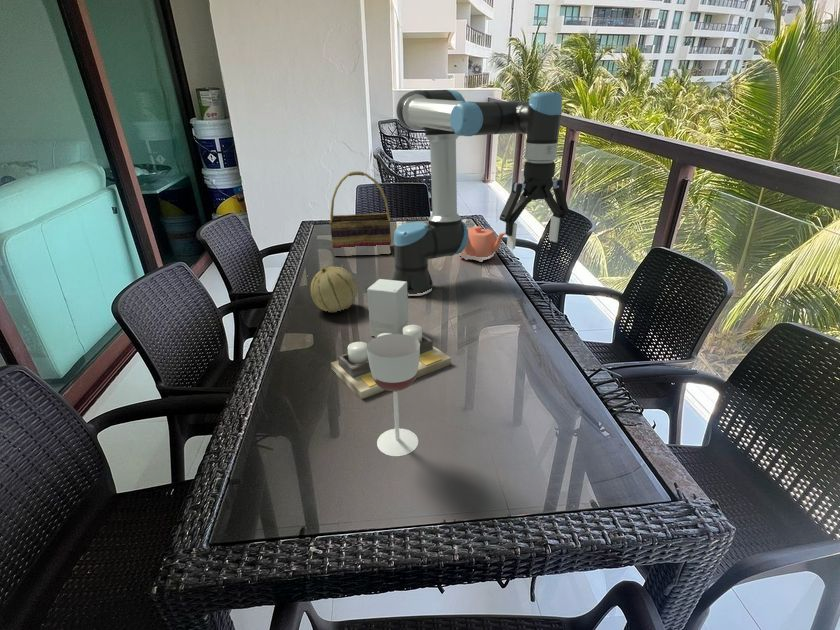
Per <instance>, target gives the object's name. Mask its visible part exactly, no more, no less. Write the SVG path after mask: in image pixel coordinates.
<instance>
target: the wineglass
mask: <svg viewBox="0 0 840 630" xmlns="http://www.w3.org/2000/svg"><path fill="white" fill-rule="evenodd" d="M367 354H368V360H369V366H370V370H371V373H372V376H373V379H374V381H375V383H376V384H377V385H378V386H379V387H381V388H382V389H385V390H384V391H389V392H393V414H394V418H393V419H394V428H391V429H388V430H385V431H384V432H382V433H381V434H380V435H379V437H378V438H377V441H376V445H377V448H378V450H379V451H380V452H381V453H383V454H385V455H387V456H390V457H401V456H406V455H408V454H410V453H413V451H414V450H416V448H417V447H418V445H419V438H418V436H417V434H415V433H414V432H413V431H411V430H409V429H406V428H400V422H399V421H400V417H399V416H400V415H399V393H398V392H399V391H403V390H406V389H407V388H409V387H411V386H412V385H413V383H414V382H415V381H416V379H417V378H416V375H417V370H418V365H419V356H420V343H419V341H418V340H417V339H416V338H414V337H412V336H409V335H403V334H388V335H382V336H379V337H373V338H372V339H371V340H370V341H368V343H367Z"/></svg>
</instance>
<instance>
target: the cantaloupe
mask: <svg viewBox="0 0 840 630" xmlns="http://www.w3.org/2000/svg"><path fill="white" fill-rule="evenodd" d="M357 292H358V287H357V282H356V280H355V278H354V276H353V274H351V272H349V271H348V270H346V269H345V268H343V267H340V266H329V267H326V268H325V267H324V268H321V269H320V270H319V271H318V272H317V273H316V274H315V275H314V276H313V278H312V280H311V283H310V296H311V298H312V301H313V303H314V304H315V305H316V306H317V308H319V309H321V310H322V311H324V312H327V311H328V312H327V313H338V312H337V311H340V312H342V311H341V310H343V311H345V310H344V309H346V310H347V309H349V308H350V307H351V306H352V305H353V303H354V301H356V298H357Z"/></svg>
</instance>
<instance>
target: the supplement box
mask: <svg viewBox="0 0 840 630" xmlns="http://www.w3.org/2000/svg"><path fill="white" fill-rule="evenodd" d="M366 292H367V303H368V305H367V306H368V314H369V315H368V316H369V329H370V337H371V336H378V335H379V334H382V333H392V334H403V328H404V327H405V326H407V325H410V323H409V301H408V298H409V297H408V294H407V282H405V281H395V280H392V279H383V278H379V279H377V280H376V281H375V282H374V283H373V284H372V285H370V286H369V287H368V288H367V289H366Z"/></svg>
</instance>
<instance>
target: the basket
mask: <svg viewBox="0 0 840 630" xmlns="http://www.w3.org/2000/svg"><path fill="white" fill-rule="evenodd" d="M352 176H362V177H363V176H365V177H367V178H368V179H369V180H371V181H372V182H373V183H374V184H375V186H376V187H377V188H378V190H379V191H380V193H381V196H382V198H383V200H384V205H385V210H386V212H382V213H381V212H380V213H363V214H362V213H360V214H339V215H338V214H336V215H334V207H335V205H334V204H335V198H336V195H337V193H338V189H339V188H340V186H341V185H342V183H343V182H344V181H345V180H346V179H347V178H348V177H352ZM330 201H331V203H330V216H329V217H330V218H329V222H328V224H329V225H330V234H331V235H330V237H331V245H332V246H331V247H332V249H333V248H341V247H355V246H376V245H390V244H391V245H392V243H391V242H392V241H391V240H392V239H391V221H392V219H391V215H390V212H389V211H390V210H389V206H388V202H387V201H388V200H387V196H386V195H385V193H384V190H383V187H382V186H381V185H380V184H379V182H378V181H377V180H376V179H375V178H374V177H372V176H370V175H369V174H368V173H366V172H363V171H350V172H349V173H346V174H345V175H344V176H343V177H342V178H340V181H338V183H337V185H336V186H335V188H334V191H333V194H332V198H331V200H330Z"/></svg>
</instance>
